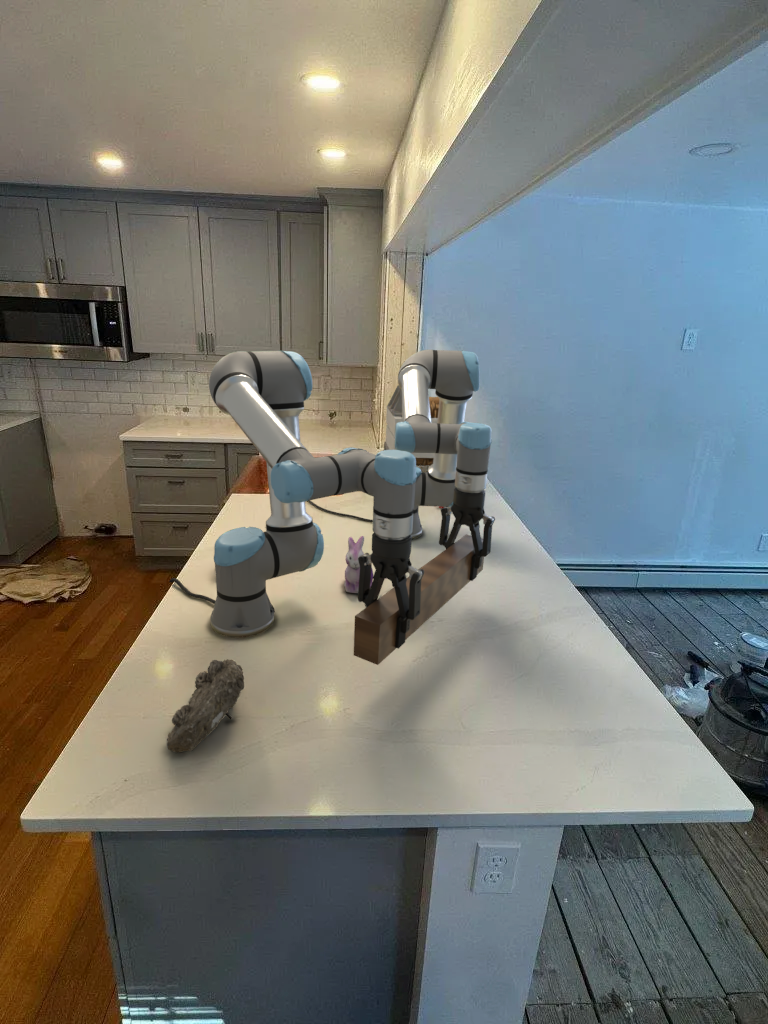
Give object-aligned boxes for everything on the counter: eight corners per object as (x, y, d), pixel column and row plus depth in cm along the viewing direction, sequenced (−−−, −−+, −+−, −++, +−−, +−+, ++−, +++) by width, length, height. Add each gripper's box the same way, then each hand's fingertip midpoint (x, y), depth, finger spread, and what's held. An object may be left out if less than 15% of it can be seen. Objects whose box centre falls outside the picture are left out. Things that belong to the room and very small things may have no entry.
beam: (463, 564, 152) (466, 534, 149) (482, 569, 149) (486, 539, 146) (353, 655, 110) (354, 615, 107) (377, 665, 107) (379, 625, 104)
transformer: (382, 463, 289) (386, 382, 275) (445, 464, 293) (451, 384, 279) (390, 482, 257) (394, 392, 243) (460, 483, 261) (468, 394, 247)
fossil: (192, 660, 117) (244, 628, 112) (224, 691, 120) (276, 661, 115) (142, 746, 98) (202, 712, 93) (182, 779, 101) (242, 748, 96)
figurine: (350, 597, 154) (351, 546, 149) (335, 581, 163) (336, 533, 158) (381, 591, 159) (383, 541, 153) (365, 576, 167) (367, 528, 162)
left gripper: (340, 527, 108) (338, 633, 116) (426, 552, 99) (418, 664, 107) (362, 516, 114) (358, 617, 122) (445, 539, 105) (436, 646, 113)
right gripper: (428, 484, 138) (422, 570, 146) (501, 500, 129) (490, 591, 137) (442, 477, 144) (435, 560, 152) (512, 492, 135) (501, 579, 143)
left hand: (386, 639), depth 114 cm, fingers closed on beam, 6 cm apart
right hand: (461, 575), depth 144 cm, fingers closed on beam, 6 cm apart
